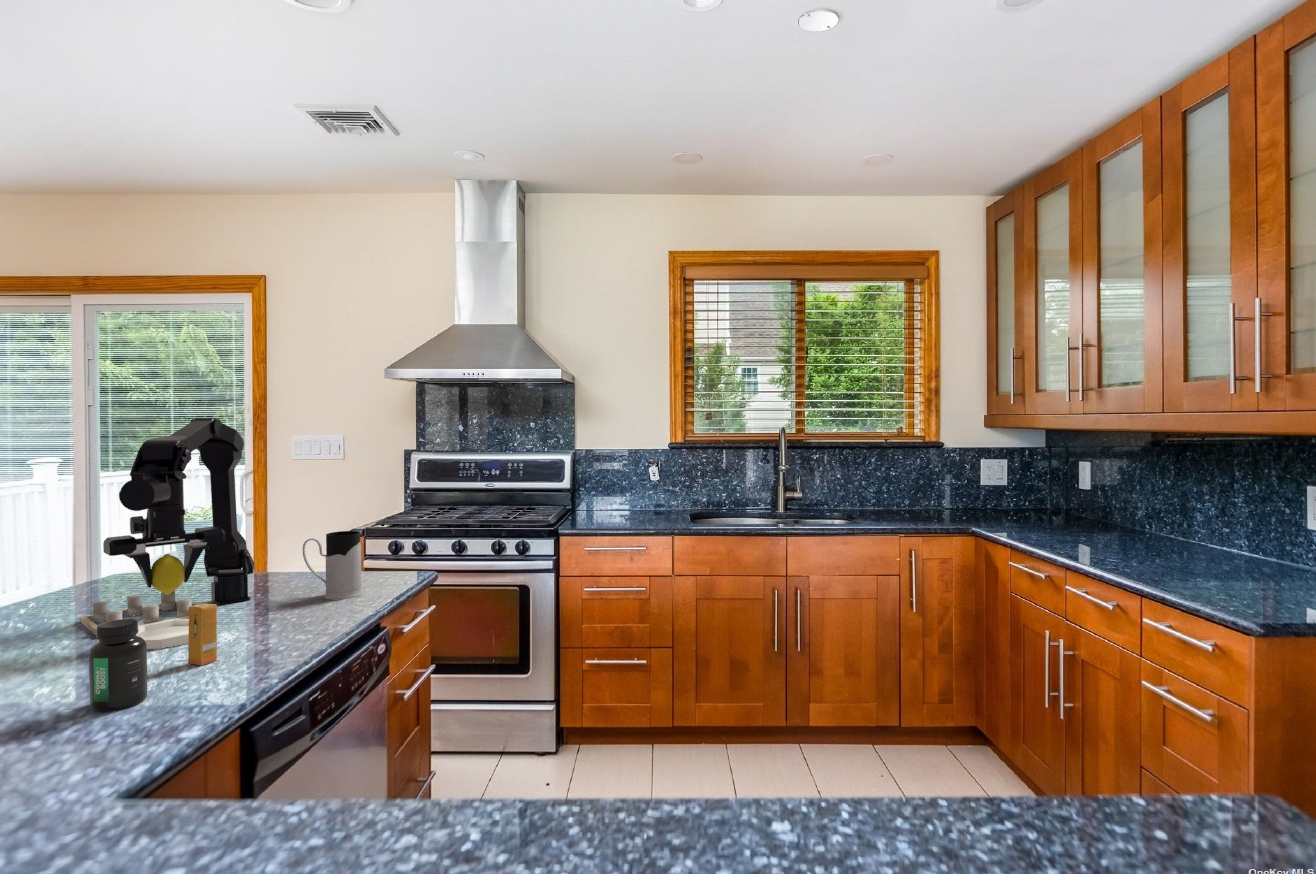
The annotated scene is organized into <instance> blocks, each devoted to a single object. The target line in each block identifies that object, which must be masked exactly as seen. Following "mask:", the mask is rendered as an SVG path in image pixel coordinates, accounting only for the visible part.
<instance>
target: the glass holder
mask: <svg viewBox="0 0 1316 874" xmlns="http://www.w3.org/2000/svg"><path fill="white" fill-rule="evenodd" d="M309 541H314V542H316V543H317V544H318V547H319V554H320V556H322V557H324V558H325V578H324V577H323V576H321V575H320V574H318V573H317V572H316V571H315V570H314V568H312V566H311V565H310V563H309V561H308V558H307V555H306V545H307V542H309ZM325 541H326V542H325V545H326V547H325V548H326V549H325V550H326V551H325V552H326V553H325V554H324V553H323V547H322V543H321V542H320V541H319V540H318V539H317V538H315V537H313V538H308V539H306V540H305V541H304V542H303V544H302V557H303V560H304V562H305V565H306V566H307V568H308V569H309V571H310V572H311V573H312V574H313V575H315V577H317V578H319V580H321V581H322V582H323V583H324V584H325V593H324V595H323V598H324V599H326V600H327V599H328V600H333V601H334V600H337V601H338V600H348V599H355V598H358V597H361V596H363V595H364V590H363V588H362V544H361V532H360V531H357V530H355V531H354V530H343V531H341V530H340V531H333V532H329V533H326V534H325Z"/></svg>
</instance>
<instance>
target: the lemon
mask: <svg viewBox="0 0 1316 874" xmlns="http://www.w3.org/2000/svg"><path fill="white" fill-rule="evenodd" d="M151 576H152V586H151V587H152V588H154V589H155V590H156V591H158V592H159V593H161V592H163V593H164V594H166V595H169V594H171V593H172V592H173V591H176V590H177V589H179V588H180V587H181V586H182V584H183V583H184V577H185V571H184V563H183V562H182V560H181V559H180V558H178V557H177V556H174V555H171V554H170V553H165V554H164V555H163V556H161V557H158V558H157V559H156V560H155V561H154V562H153V564H152V566H151Z"/></svg>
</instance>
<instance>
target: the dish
mask: <svg viewBox="0 0 1316 874" xmlns="http://www.w3.org/2000/svg"><path fill="white" fill-rule="evenodd" d="M172 619H173V620H169V619H167V620H168V621H164V620H161V621H162V622H157V623H151V624H146V625H142V624H141V625H142V626H138V633H137V634H136V636H138V637H141V638H143V639H144V640H145V642H146V645H147V649H153V650H162V649H161V648H165V647H170V648H174V647H173V646H175V647H178V646H177V645H179V646H183V645H184V646H185V645H188V642H189V641H188V640H189V619H175V618H172ZM165 649H166V648H165Z"/></svg>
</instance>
